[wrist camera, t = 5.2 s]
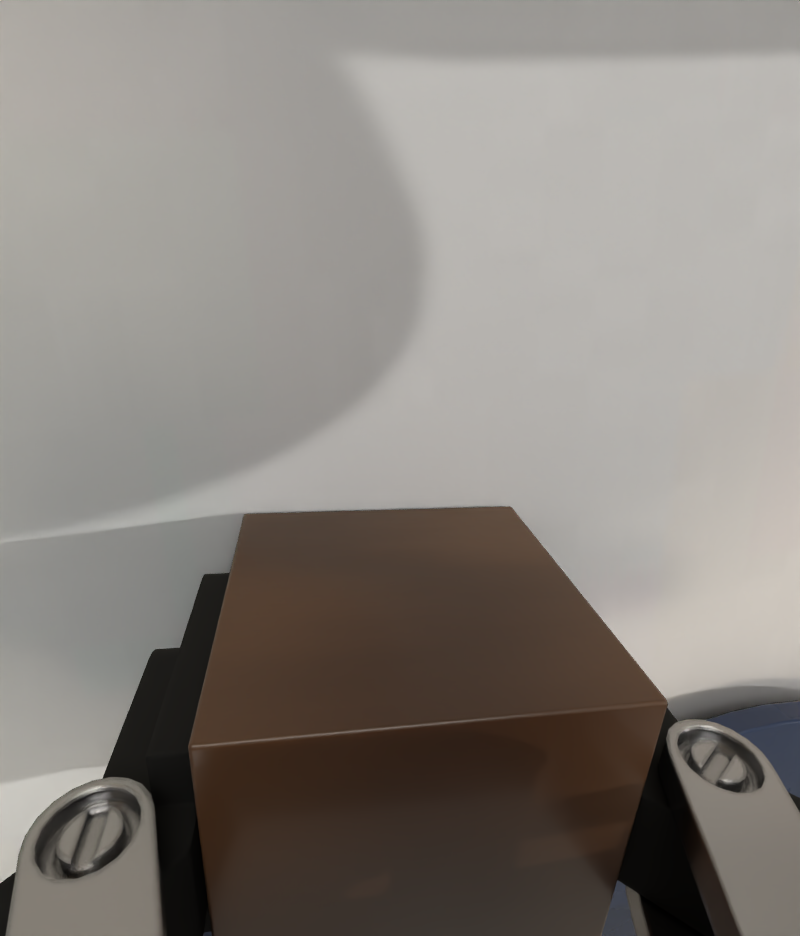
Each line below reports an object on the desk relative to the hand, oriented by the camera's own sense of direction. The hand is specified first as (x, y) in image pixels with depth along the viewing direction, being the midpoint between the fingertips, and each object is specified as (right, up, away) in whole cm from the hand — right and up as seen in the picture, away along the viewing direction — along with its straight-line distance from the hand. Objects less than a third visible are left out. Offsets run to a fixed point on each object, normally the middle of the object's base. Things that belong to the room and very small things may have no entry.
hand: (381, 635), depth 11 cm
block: (0, 0, 0) cm, 0 cm away
